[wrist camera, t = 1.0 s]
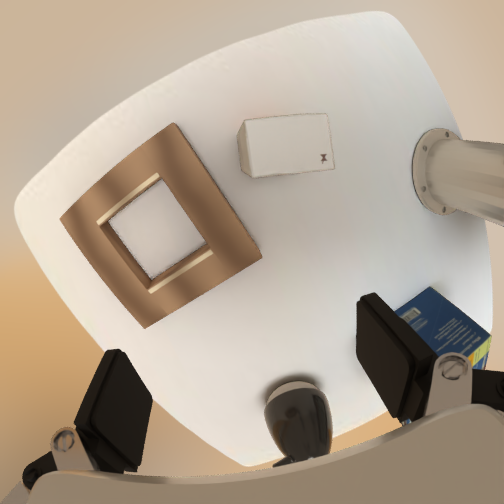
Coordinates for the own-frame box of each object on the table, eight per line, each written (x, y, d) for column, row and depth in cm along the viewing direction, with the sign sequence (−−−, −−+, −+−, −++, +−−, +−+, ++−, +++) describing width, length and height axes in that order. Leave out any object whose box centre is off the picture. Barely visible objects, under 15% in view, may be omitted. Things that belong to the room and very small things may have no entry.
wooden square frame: (177, 125, 26) (172, 122, 24) (259, 250, 32) (262, 257, 30) (69, 214, 28) (58, 218, 25) (148, 318, 34) (144, 329, 31)
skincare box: (289, 127, 28) (330, 112, 17) (294, 165, 29) (337, 171, 18) (234, 134, 27) (242, 118, 16) (240, 172, 29) (252, 181, 18)
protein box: (435, 326, 41) (484, 375, 26) (367, 371, 42) (406, 435, 27) (430, 284, 37) (493, 333, 23) (354, 335, 38) (402, 407, 24)
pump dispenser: (257, 377, 39) (273, 461, 25) (322, 366, 40) (356, 441, 25) (261, 414, 42) (275, 486, 28) (318, 404, 43) (343, 470, 29)
